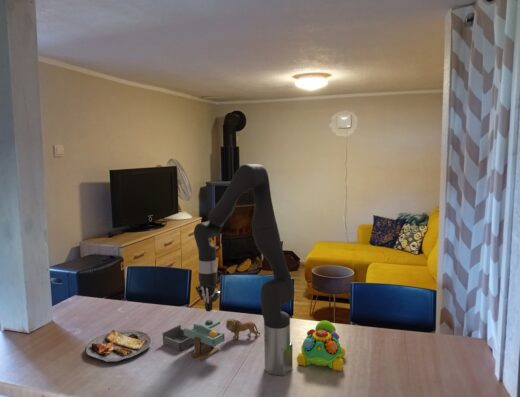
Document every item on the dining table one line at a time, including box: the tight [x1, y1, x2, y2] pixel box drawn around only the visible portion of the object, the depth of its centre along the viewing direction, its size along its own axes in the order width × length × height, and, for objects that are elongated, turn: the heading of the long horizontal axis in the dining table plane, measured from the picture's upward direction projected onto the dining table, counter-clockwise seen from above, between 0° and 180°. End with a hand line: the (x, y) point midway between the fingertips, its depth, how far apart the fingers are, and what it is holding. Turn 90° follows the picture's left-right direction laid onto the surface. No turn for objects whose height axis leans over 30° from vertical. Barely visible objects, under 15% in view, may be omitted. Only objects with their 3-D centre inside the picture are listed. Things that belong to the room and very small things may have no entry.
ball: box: [209, 330, 217, 338], centre depth 156 cm, size 3×3×3 cm
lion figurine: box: [225, 318, 261, 341], centre depth 172 cm, size 15×5×9 cm, turn 108°
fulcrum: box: [189, 337, 220, 362], centre depth 159 cm, size 6×10×8 cm, turn 142°
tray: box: [162, 324, 194, 352], centre depth 168 cm, size 10×9×5 cm
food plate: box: [84, 329, 153, 363], centre depth 165 cm, size 25×23×4 cm
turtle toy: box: [296, 319, 346, 372], centre depth 155 cm, size 17×23×12 cm
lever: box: [183, 318, 226, 347], centre depth 163 cm, size 16×16×3 cm
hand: (208, 310), depth 169 cm, fingers closed
